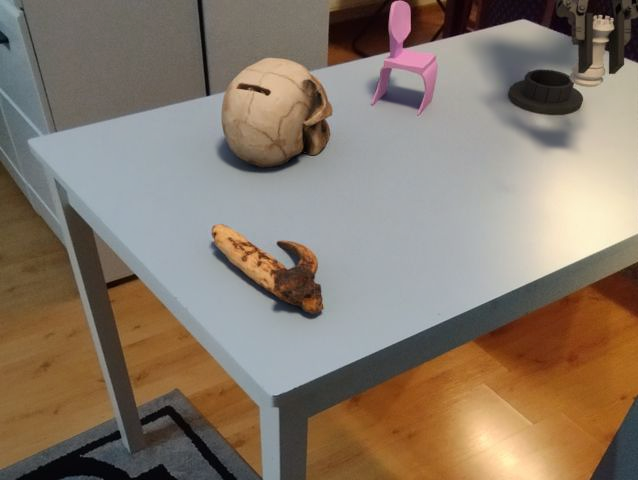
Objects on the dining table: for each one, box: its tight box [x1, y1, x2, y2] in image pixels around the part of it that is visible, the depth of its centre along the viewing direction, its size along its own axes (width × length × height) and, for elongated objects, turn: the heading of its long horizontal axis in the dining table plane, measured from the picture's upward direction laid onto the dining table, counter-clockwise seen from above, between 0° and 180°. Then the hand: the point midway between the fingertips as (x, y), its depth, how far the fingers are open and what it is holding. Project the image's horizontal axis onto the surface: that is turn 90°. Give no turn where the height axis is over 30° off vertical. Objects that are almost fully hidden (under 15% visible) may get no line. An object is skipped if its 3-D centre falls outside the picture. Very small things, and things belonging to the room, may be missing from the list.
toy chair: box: [370, 0, 439, 116], centre depth 106 cm, size 8×9×15 cm
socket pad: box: [507, 69, 584, 116], centre depth 113 cm, size 12×12×4 cm
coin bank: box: [220, 57, 334, 168], centre depth 95 cm, size 16×17×13 cm
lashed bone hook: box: [211, 223, 325, 315], centre depth 76 cm, size 9×5×18 cm
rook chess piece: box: [568, 14, 614, 88], centre depth 89 cm, size 4×4×8 cm
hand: (600, 68), depth 87 cm, fingers closed on rook chess piece, 3 cm apart
